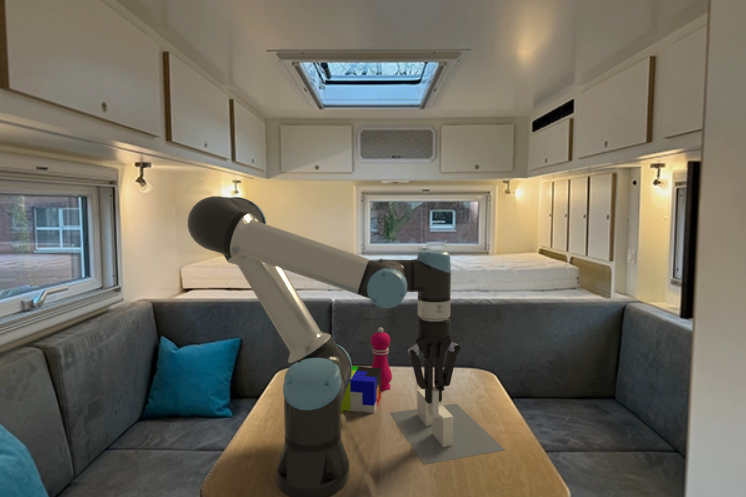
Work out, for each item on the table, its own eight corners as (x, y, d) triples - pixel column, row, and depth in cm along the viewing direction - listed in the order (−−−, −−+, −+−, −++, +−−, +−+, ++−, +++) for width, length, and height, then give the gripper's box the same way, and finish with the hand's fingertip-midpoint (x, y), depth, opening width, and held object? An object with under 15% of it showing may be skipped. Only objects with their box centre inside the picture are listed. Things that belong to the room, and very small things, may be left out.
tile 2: (453, 445, 97) (453, 416, 97) (442, 447, 97) (443, 418, 96) (442, 432, 103) (442, 405, 103) (432, 433, 102) (432, 406, 102)
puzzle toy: (374, 417, 113) (374, 382, 112) (338, 413, 115) (338, 378, 114) (380, 401, 123) (381, 368, 122) (348, 398, 125) (348, 365, 124)
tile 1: (435, 424, 107) (435, 397, 106) (425, 425, 106) (426, 399, 106) (426, 413, 113) (426, 388, 112) (416, 414, 112) (417, 389, 111)
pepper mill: (378, 383, 135) (378, 323, 133) (396, 389, 131) (397, 327, 129) (363, 390, 130) (364, 327, 128) (382, 397, 125) (382, 332, 123)
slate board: (505, 454, 96) (505, 450, 96) (424, 469, 90) (424, 464, 90) (456, 407, 119) (456, 403, 119) (389, 416, 113) (389, 412, 113)
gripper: (413, 323, 91) (413, 427, 93) (467, 319, 95) (465, 418, 97) (401, 315, 98) (401, 411, 100) (452, 311, 102) (451, 404, 104)
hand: (433, 415), depth 98 cm, fingers closed
